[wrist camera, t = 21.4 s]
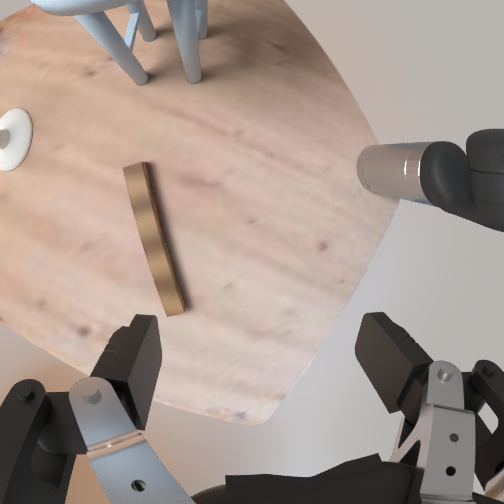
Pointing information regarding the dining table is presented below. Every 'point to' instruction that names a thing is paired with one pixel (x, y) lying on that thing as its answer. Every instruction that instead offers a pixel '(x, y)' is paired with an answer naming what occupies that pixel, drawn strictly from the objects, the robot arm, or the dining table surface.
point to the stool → (100, 27)
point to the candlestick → (14, 138)
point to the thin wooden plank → (153, 238)
